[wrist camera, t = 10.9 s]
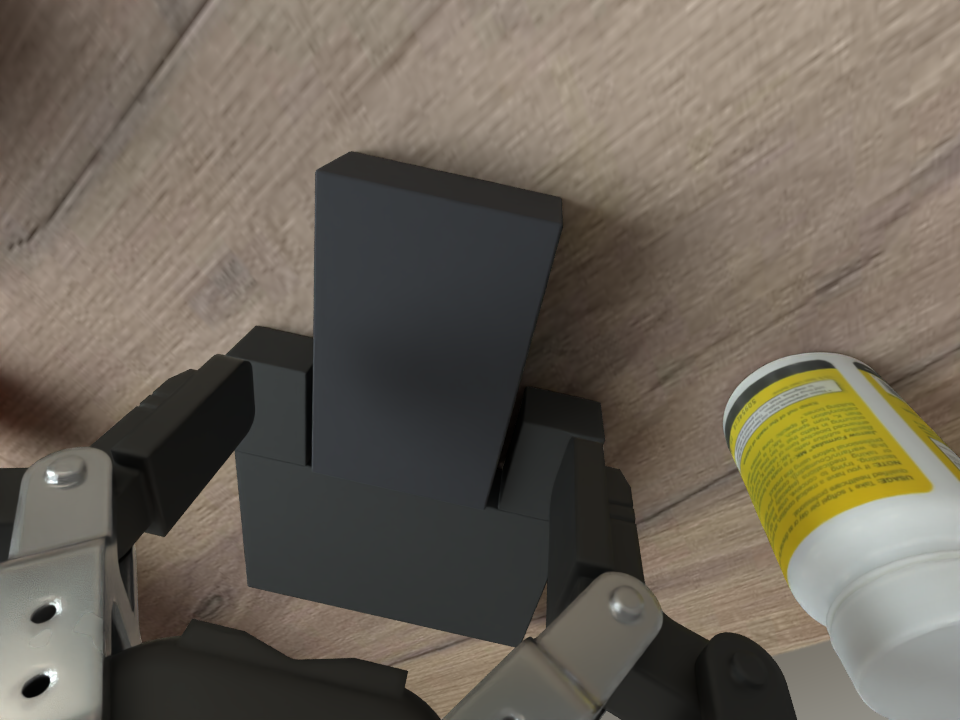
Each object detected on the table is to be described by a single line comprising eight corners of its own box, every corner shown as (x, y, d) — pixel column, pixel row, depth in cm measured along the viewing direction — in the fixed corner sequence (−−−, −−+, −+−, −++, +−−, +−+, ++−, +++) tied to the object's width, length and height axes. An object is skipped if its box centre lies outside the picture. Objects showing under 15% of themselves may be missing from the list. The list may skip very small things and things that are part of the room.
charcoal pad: (562, 196, 14) (563, 224, 12) (492, 461, 20) (484, 511, 18) (349, 150, 14) (314, 169, 12) (336, 426, 20) (310, 472, 18)
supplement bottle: (700, 453, 18) (791, 717, 11) (750, 336, 16) (911, 580, 9) (840, 475, 18) (1024, 759, 11) (914, 360, 16) (1217, 631, 8)
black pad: (601, 401, 18) (605, 440, 16) (522, 606, 24) (519, 649, 22) (255, 324, 18) (224, 354, 16) (268, 549, 24) (246, 587, 22)
